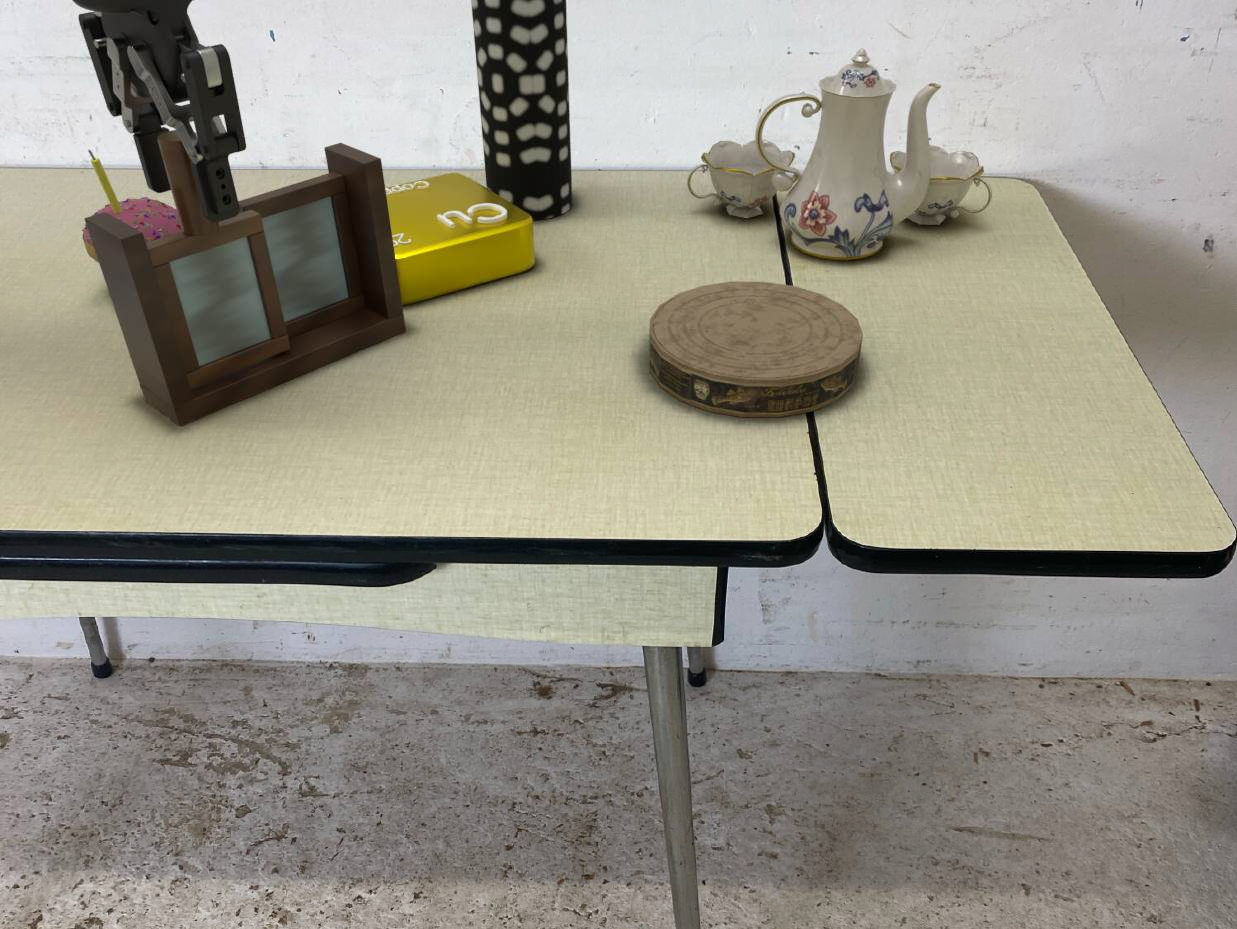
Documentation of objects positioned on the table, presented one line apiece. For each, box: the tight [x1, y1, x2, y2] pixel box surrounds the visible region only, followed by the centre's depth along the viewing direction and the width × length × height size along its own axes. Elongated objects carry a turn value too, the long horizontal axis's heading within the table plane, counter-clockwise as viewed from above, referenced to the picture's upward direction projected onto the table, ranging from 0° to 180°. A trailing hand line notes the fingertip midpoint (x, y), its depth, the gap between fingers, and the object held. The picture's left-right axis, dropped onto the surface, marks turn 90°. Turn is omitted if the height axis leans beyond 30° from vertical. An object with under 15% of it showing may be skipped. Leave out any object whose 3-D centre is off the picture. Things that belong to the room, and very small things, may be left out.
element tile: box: [385, 172, 536, 306], centre depth 96 cm, size 15×15×5 cm
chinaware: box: [686, 47, 993, 261], centre depth 97 cm, size 28×17×17 cm, turn 89°
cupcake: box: [81, 149, 182, 264], centre depth 89 cm, size 9×8×12 cm
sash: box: [146, 129, 290, 389], centre depth 74 cm, size 8×2×16 cm, turn 136°
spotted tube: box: [470, 0, 573, 221], centre depth 100 cm, size 8×8×20 cm
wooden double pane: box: [84, 142, 407, 427], centre depth 79 cm, size 20×5×14 cm, turn 136°
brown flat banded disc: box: [648, 281, 864, 418], centre depth 82 cm, size 16×16×3 cm
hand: (194, 202), depth 71 cm, fingers open, 6 cm apart
